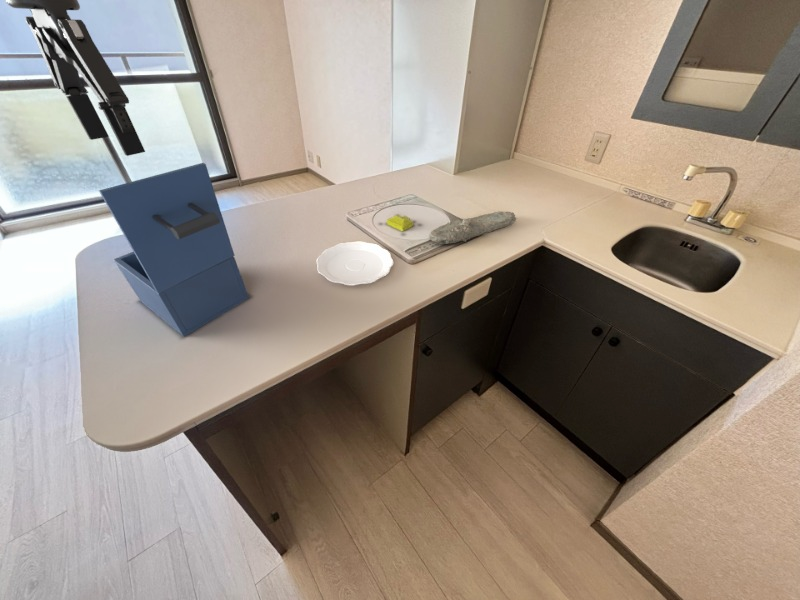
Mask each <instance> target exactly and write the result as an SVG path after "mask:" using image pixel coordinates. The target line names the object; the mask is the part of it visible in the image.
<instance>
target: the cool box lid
mask: <svg viewBox="0 0 800 600" xmlns="http://www.w3.org/2000/svg"><path fill="white" fill-rule="evenodd" d="M98 192H99V194H100V196H101V198H102V199H103V201H104V203H105V204H106V206H107V208H108V210H109V212H110V214H111V215H112V216H113V218H114V220H115V222H116V224H117V225H118V227H119V229H120V231H121V233H122V234H123V236H124V237H125V240H126V241H127V243H128V244H129V247H130V248H131V250H132V252H134V253H135V255H136V257H137V259H138V260H139V262H140V264H141V266H142V267H143V269H144V271H145V273H146V274H147V276H148V278H149V280H150V281H151V283H152V285H153V287H154V288H155V290H156V291H157V292H158V293H159V292H161V291H163V290H165V289H167V288H169V287H171V286H173V285H175V284H177V283H179V282H181V281H183V280H185V279H188V278H190V277H192V276H194V275H196V274H198V273H200V272H202V271H204V270H206V269H208V268H210V267H212V266H214V265H216V264H218V263H220V262H222V261H224V260H227V259H229V258H231V257H233V256H234V257H235V252H234V248H233V246H232V243H231V239H230V237H229V234H228V230H227V227H226V223H225V220H224V217H223V214H222V211H221V208H220V205H219V201H218V199H217V195H216V192H215V189H214V186H213V183H212V180H211V177H210V173H209V170H208V167H207V164H206V163H205V162H201V163H197V164H193V165H189V166H185V167H182V168H178V169H175V170H174V169H173V170H171V171H167V172H163V173H159V174H155V175H152V176H148V177H144V178H141V179H136V180H133V181H129V182H126V183H125V182H124V183H122V184H118V185H115V186H111V187H107V188H103V189H100V190H98Z"/></svg>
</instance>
